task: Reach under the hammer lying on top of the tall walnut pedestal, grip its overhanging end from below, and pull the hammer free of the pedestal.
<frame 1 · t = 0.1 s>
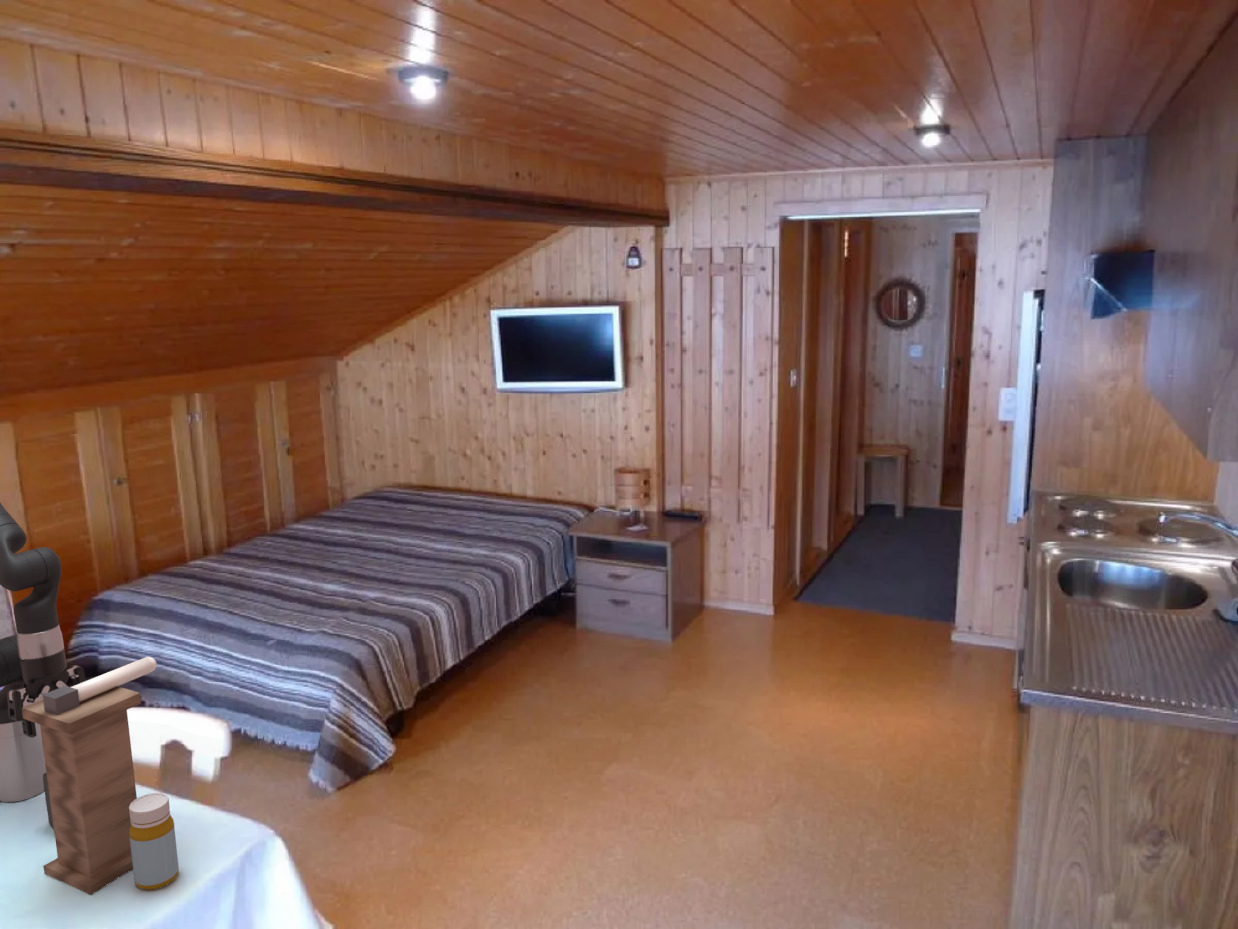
hand: (53, 727, 182), 17 cm above the table, tool pointing down, fingers open, 8 cm apart
hammer: (105, 690, 164), point 32 cm above the table, touching pedestal
pedestal: (102, 863, 167), on the table
bottle: (157, 880, 162), on the table
battery charger: (65, 827, 178), on the table
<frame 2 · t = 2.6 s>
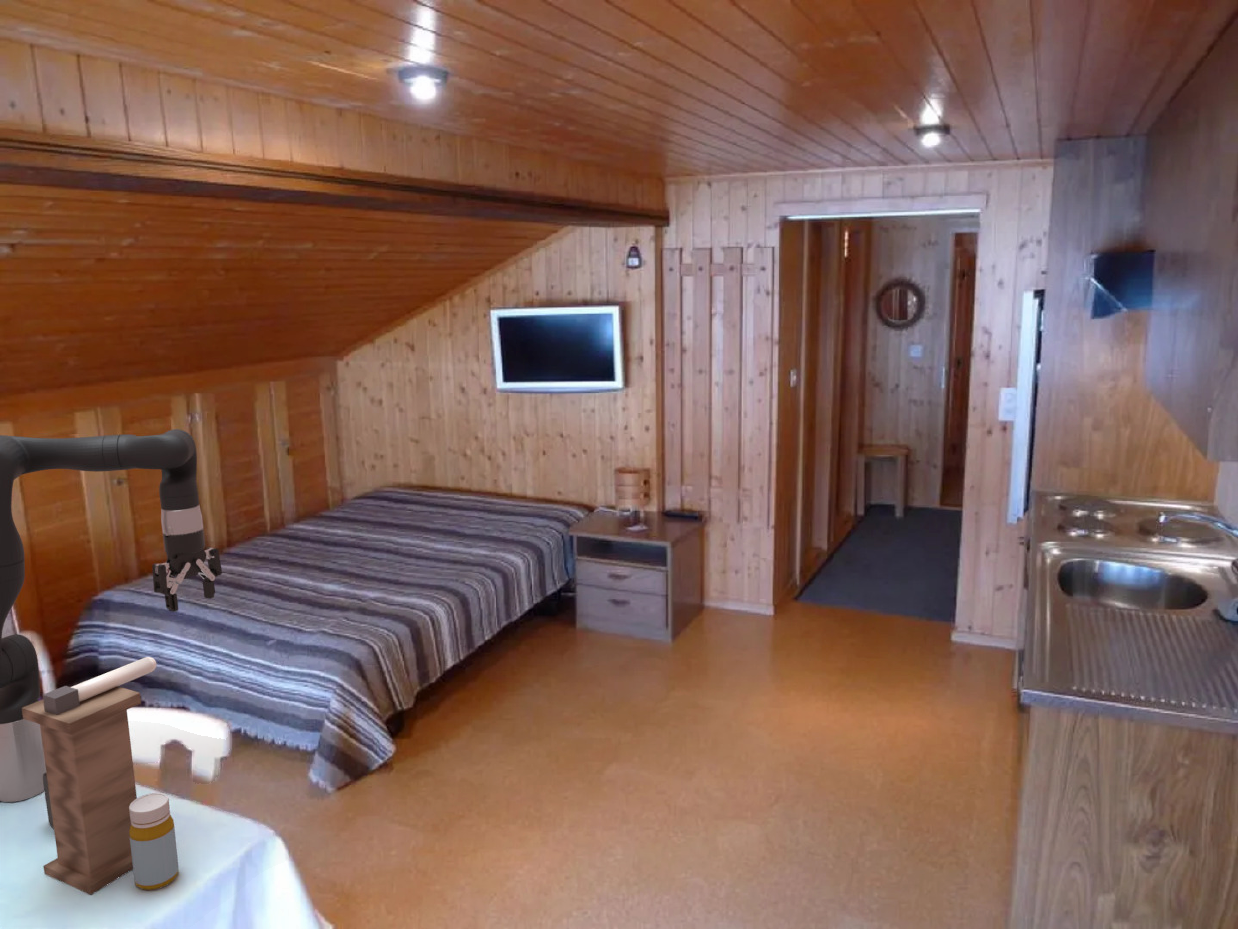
hand: (191, 604, 189), 39 cm above the table, tool pointing down, fingers open, 8 cm apart
nothing on the table moved.
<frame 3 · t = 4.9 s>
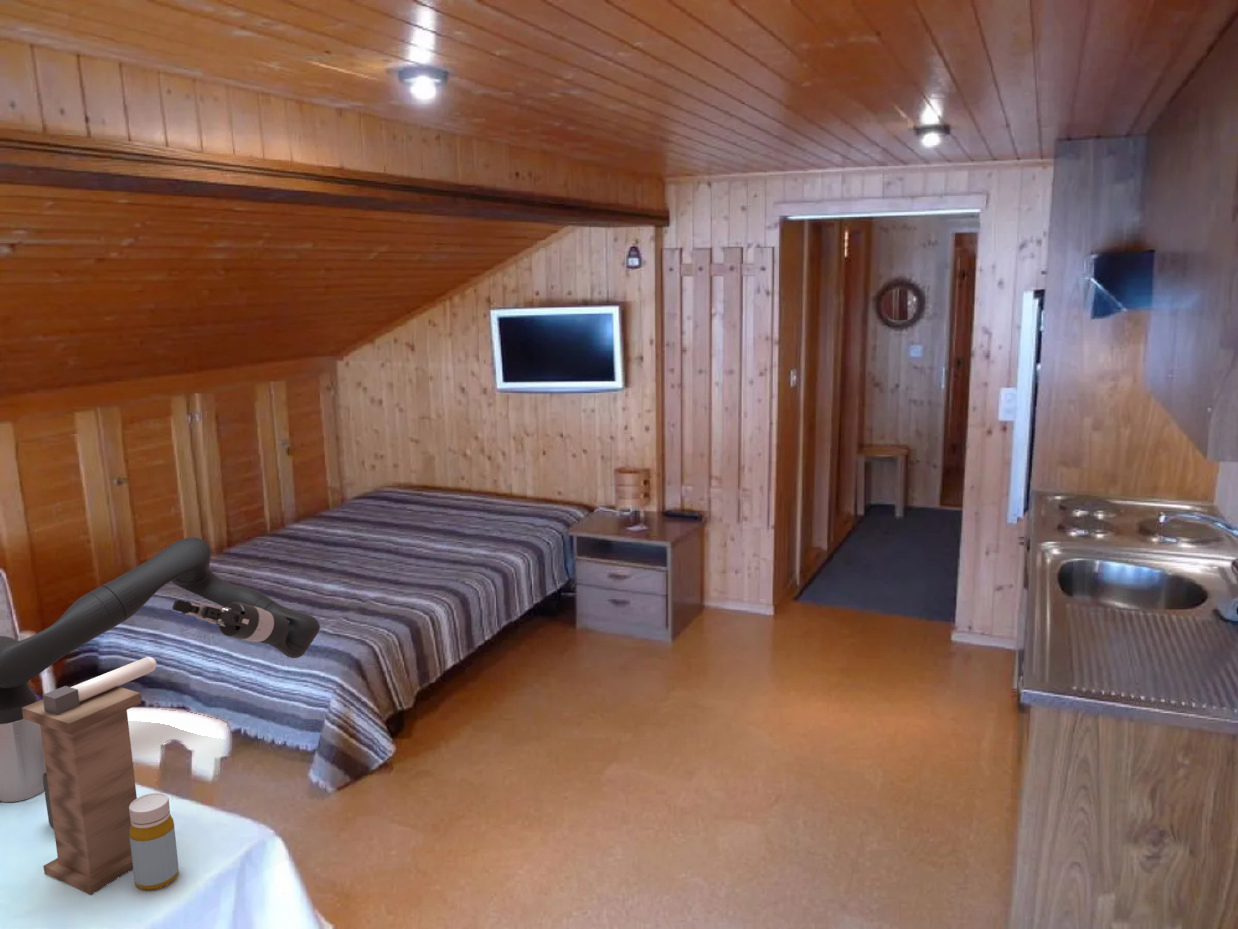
hand: (188, 607, 188), 39 cm above the table, tool pointing upward, fingers open, 8 cm apart
nothing on the table moved.
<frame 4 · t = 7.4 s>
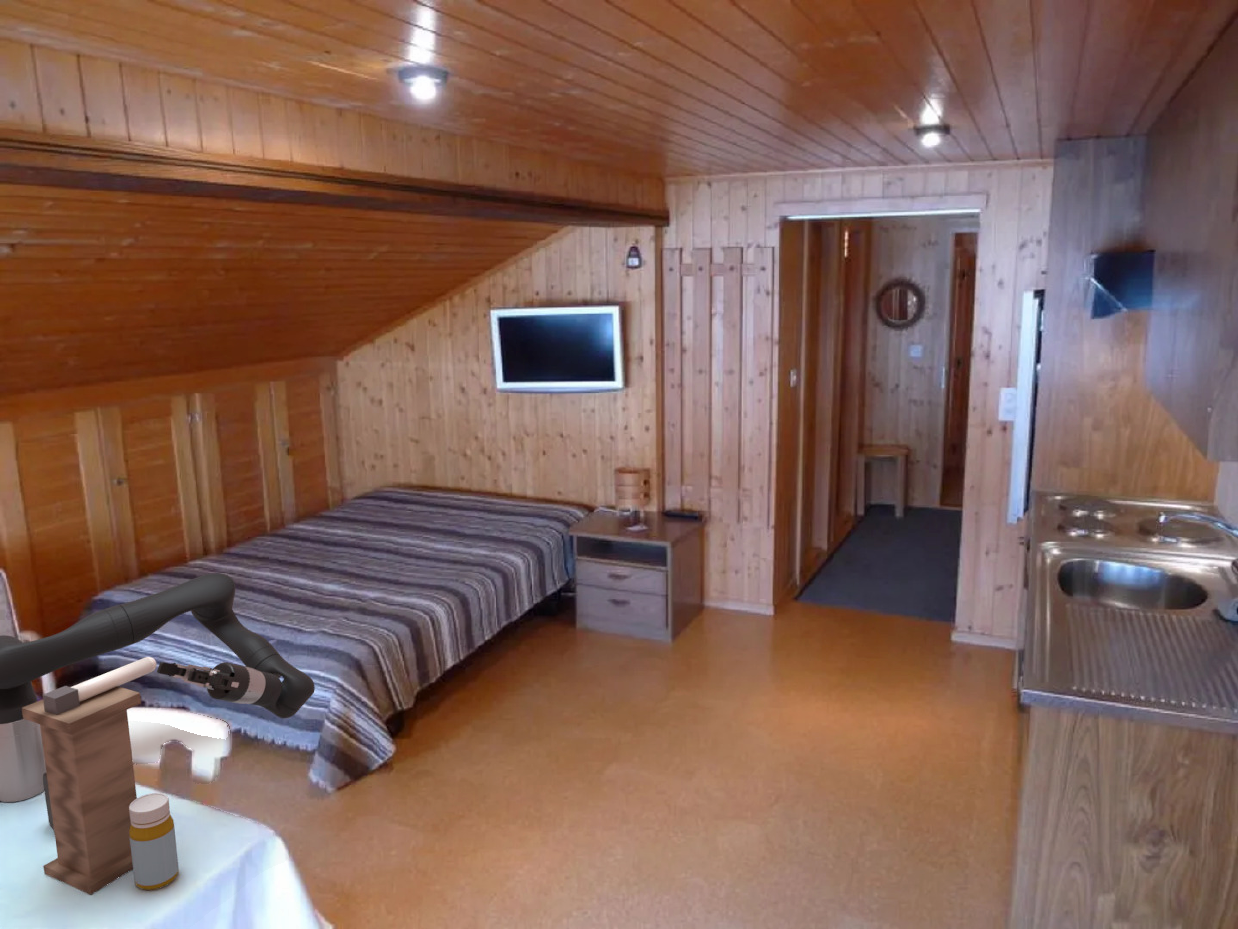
hand: (174, 671, 176), 30 cm above the table, tool pointing upward, fingers open, 8 cm apart
nothing on the table moved.
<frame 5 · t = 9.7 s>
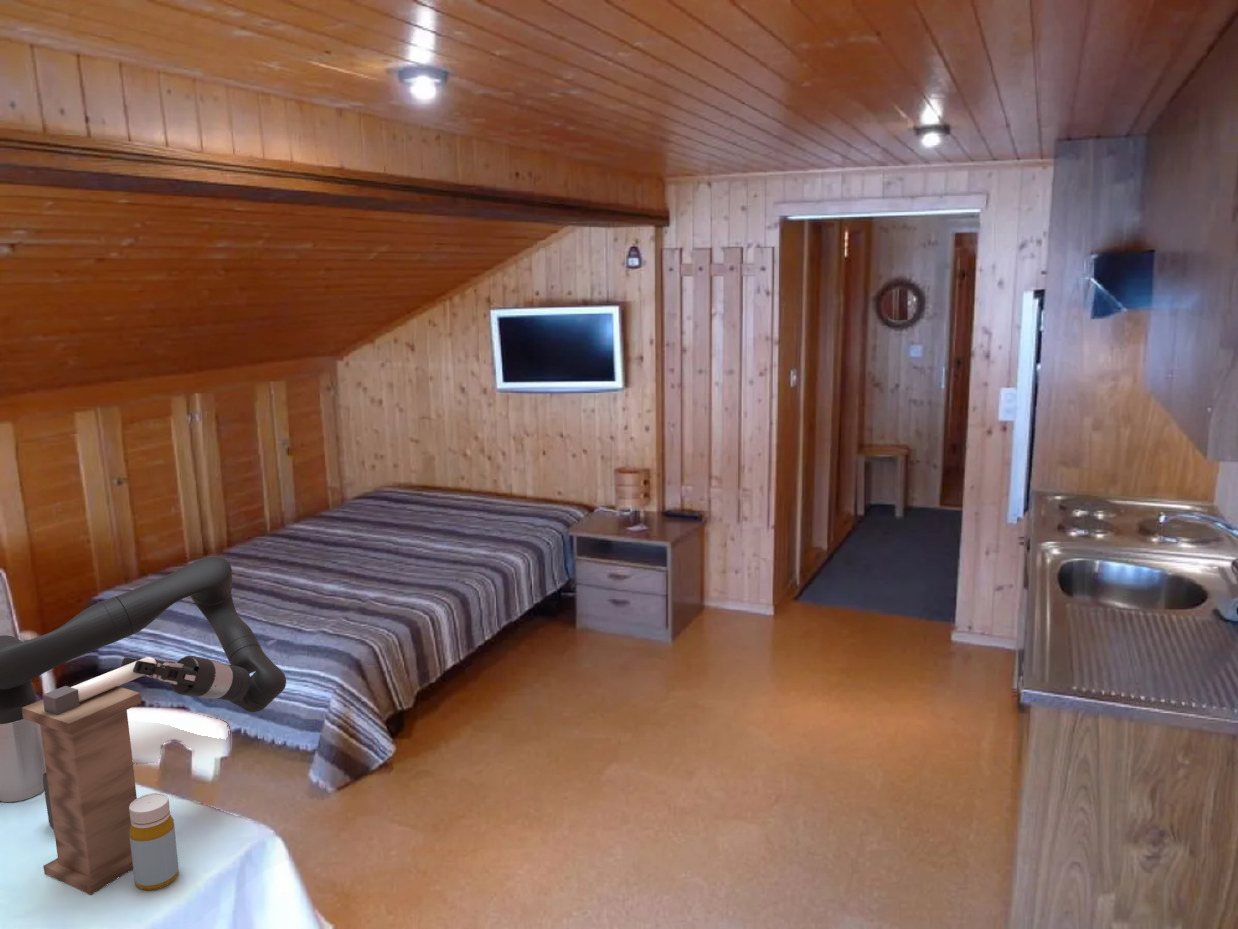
hand: (129, 664, 168), 35 cm above the table, tool pointing upward, fingers closed on hammer, 3 cm apart
hammer: (105, 690, 164), point 32 cm above the table, touching gripper, pedestal
everything else where it was.
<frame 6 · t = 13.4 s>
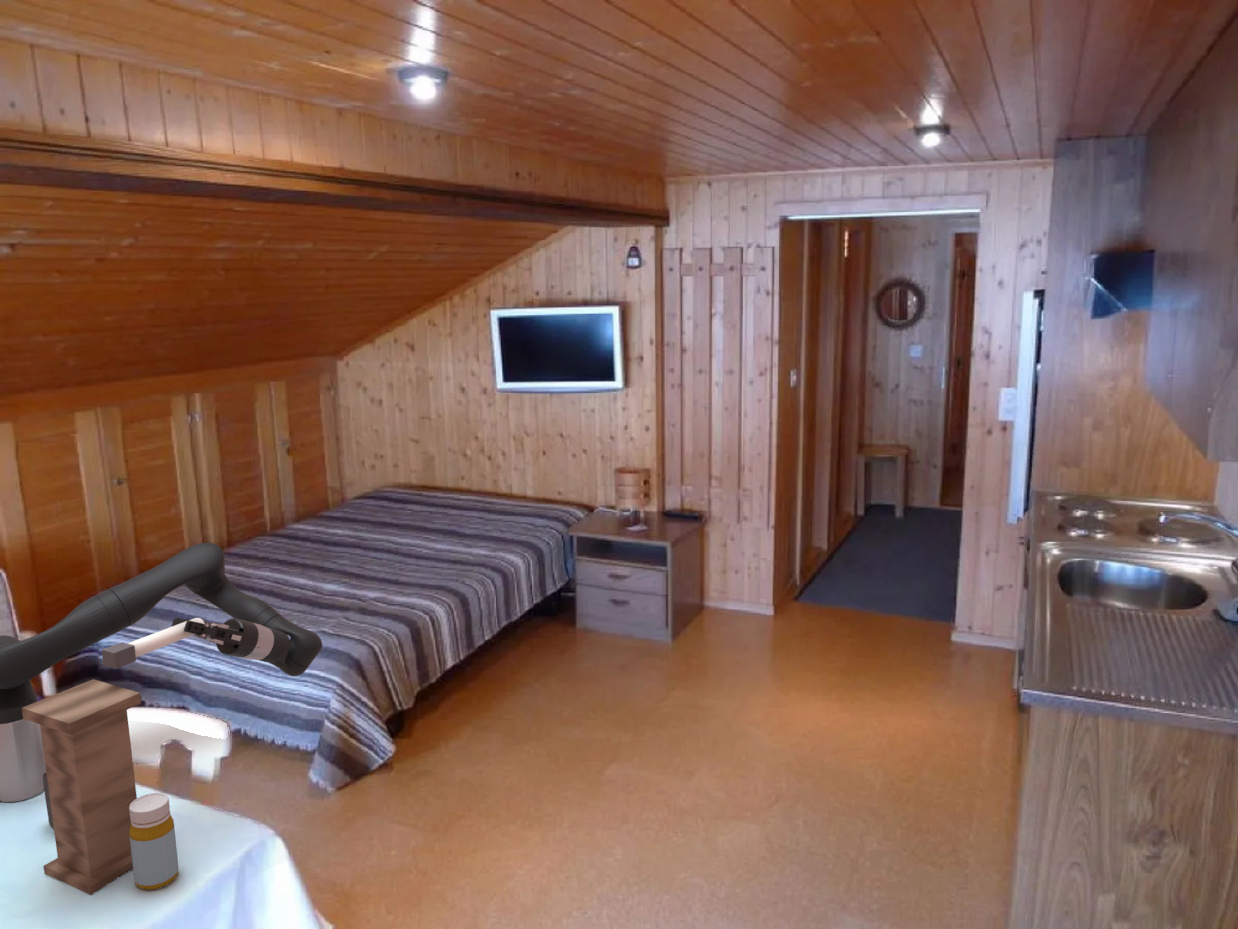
hand: (180, 624, 177), 39 cm above the table, tool pointing upward, fingers closed on hammer, 3 cm apart
hammer: (158, 647, 173), point 36 cm above the table, touching gripper
everything else where it was.
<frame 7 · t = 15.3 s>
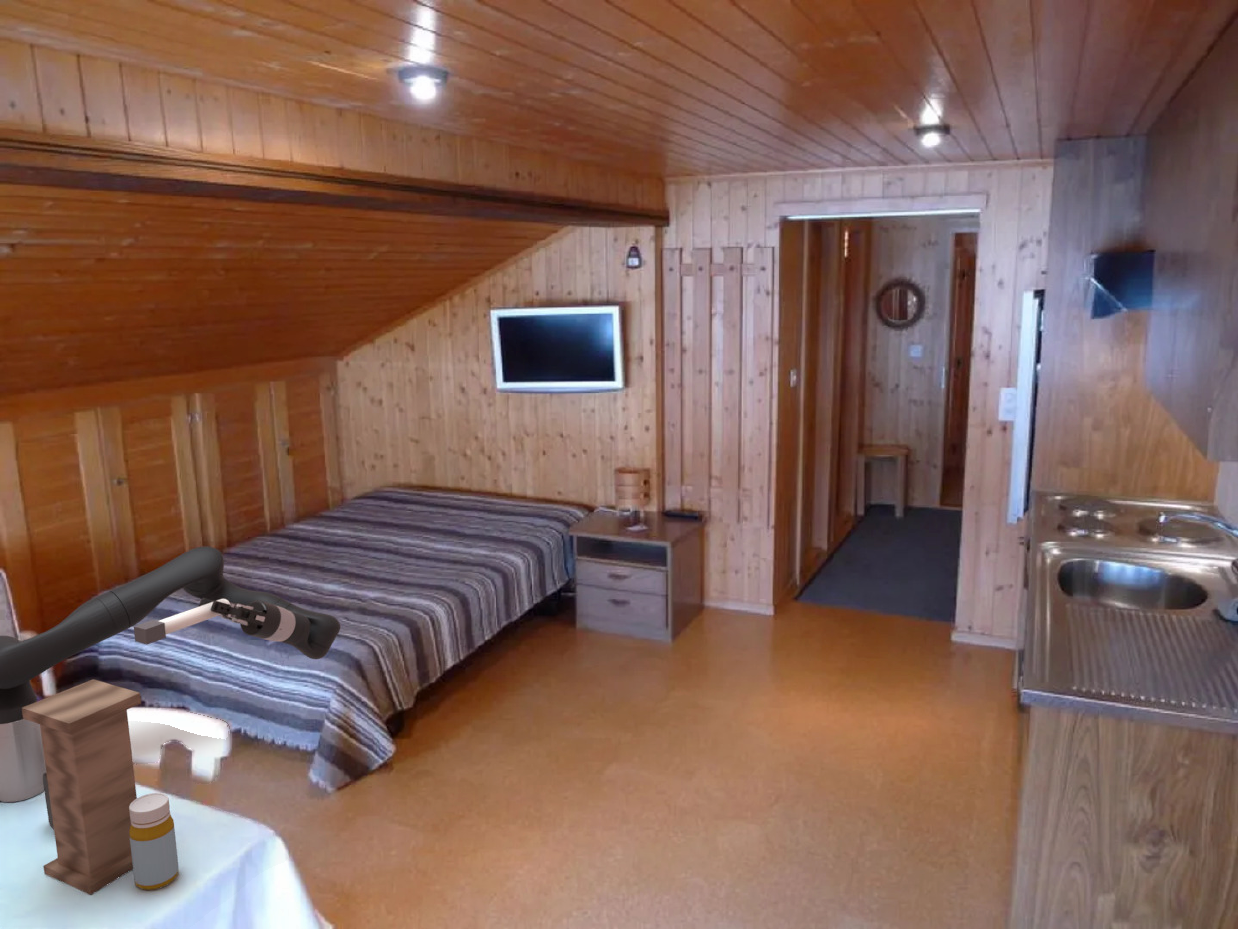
hand: (207, 604, 185), 40 cm above the table, tool pointing upward, fingers closed on hammer, 3 cm apart
hammer: (187, 626, 181), point 37 cm above the table, touching gripper
everything else where it was.
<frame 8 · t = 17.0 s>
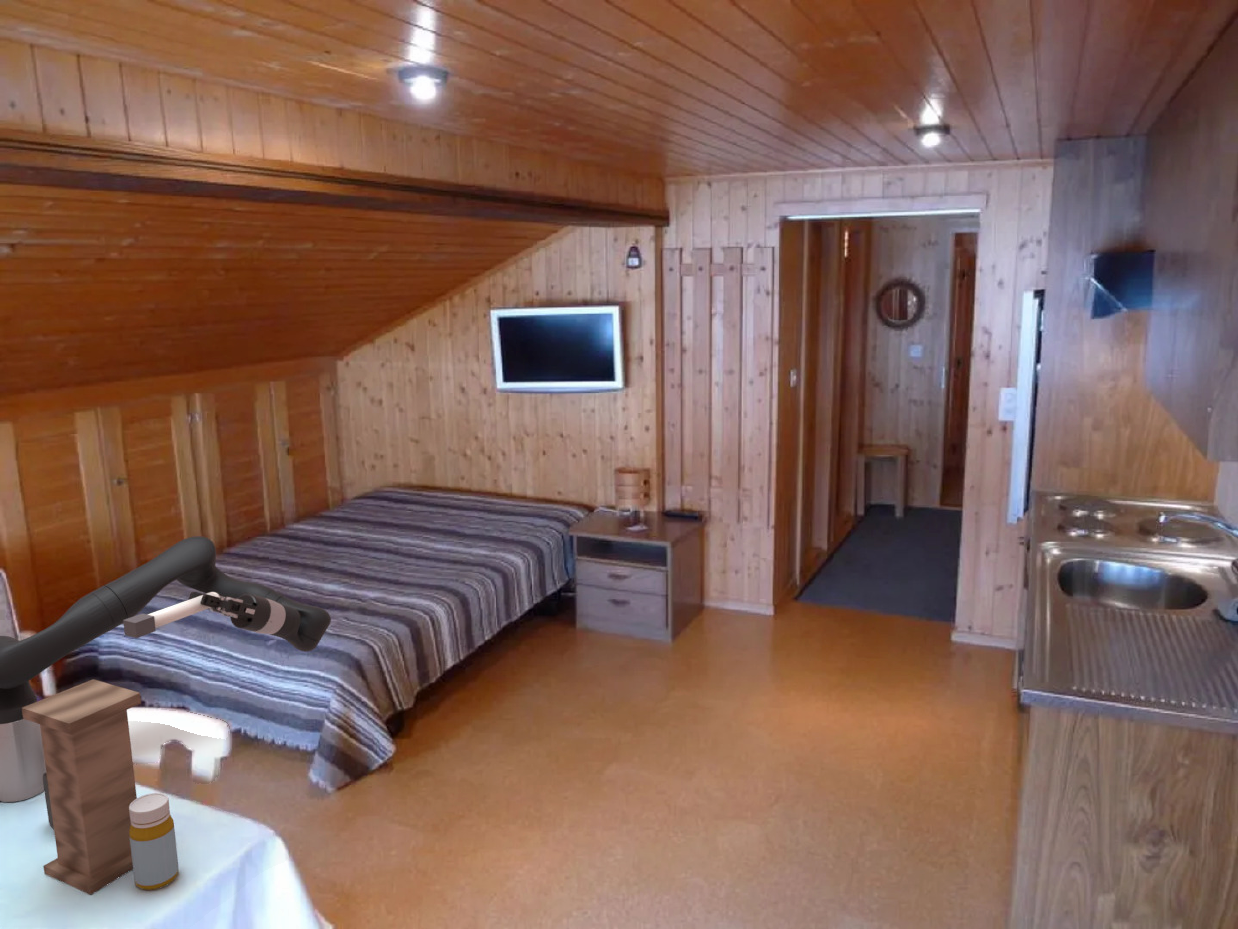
hand: (197, 597, 185), 41 cm above the table, tool pointing upward, fingers closed on hammer, 3 cm apart
hammer: (176, 619, 181), point 38 cm above the table, touching gripper
everything else where it was.
at the end: hammer touching gripper; the gripper is holding hammer; hammer moved 20.0 cm from its start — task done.
